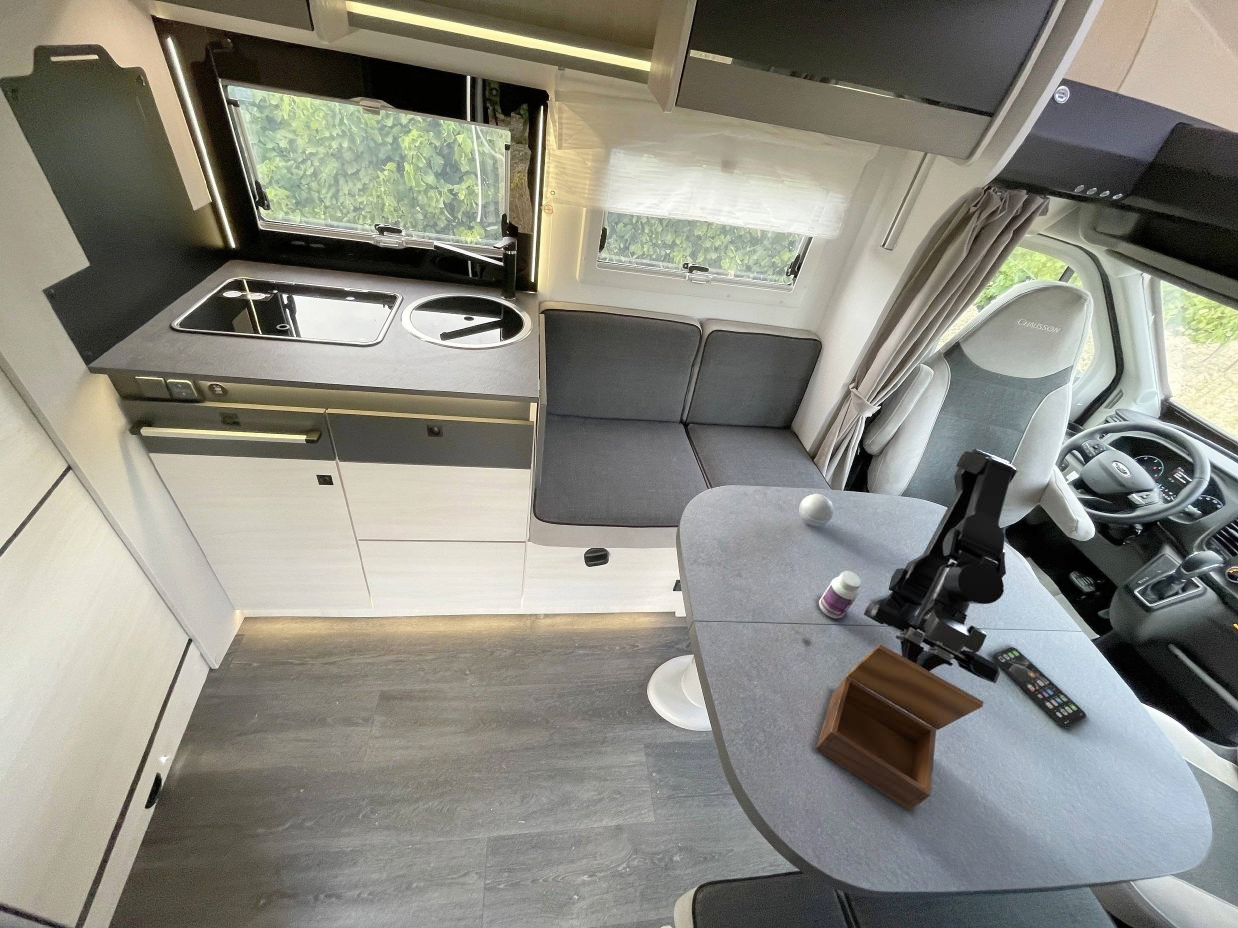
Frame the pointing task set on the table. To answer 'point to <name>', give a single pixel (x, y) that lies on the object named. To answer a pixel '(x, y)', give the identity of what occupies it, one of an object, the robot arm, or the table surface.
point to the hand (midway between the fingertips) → (904, 687)
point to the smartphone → (1039, 687)
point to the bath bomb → (816, 510)
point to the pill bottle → (840, 594)
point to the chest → (879, 743)
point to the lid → (913, 688)
